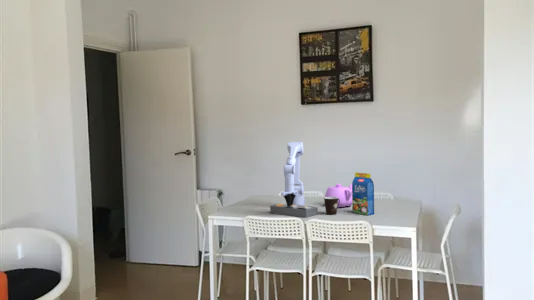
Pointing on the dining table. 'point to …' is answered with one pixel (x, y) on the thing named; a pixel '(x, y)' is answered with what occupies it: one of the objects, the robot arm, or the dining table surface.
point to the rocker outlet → (304, 207)
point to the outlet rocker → (282, 204)
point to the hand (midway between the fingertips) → (289, 206)
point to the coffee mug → (331, 205)
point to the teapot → (341, 194)
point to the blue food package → (363, 194)
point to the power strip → (294, 211)
